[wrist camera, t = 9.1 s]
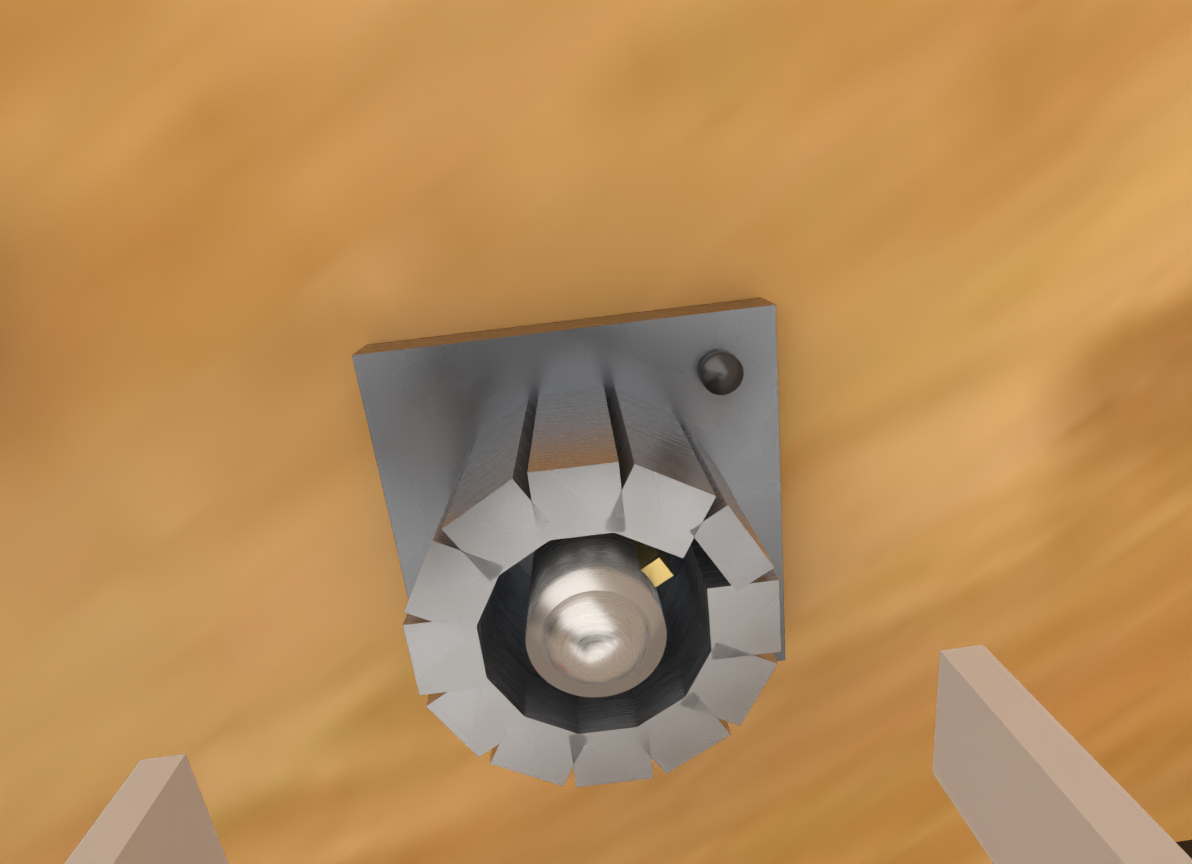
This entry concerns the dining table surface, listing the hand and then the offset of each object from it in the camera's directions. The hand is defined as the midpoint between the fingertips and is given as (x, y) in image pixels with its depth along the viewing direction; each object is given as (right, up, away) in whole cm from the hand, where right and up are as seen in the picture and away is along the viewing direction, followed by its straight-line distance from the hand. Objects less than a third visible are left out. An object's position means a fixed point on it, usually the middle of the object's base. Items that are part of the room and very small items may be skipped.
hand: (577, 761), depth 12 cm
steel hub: (0, +3, +9) cm, 10 cm away
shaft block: (0, +4, +10) cm, 11 cm away
